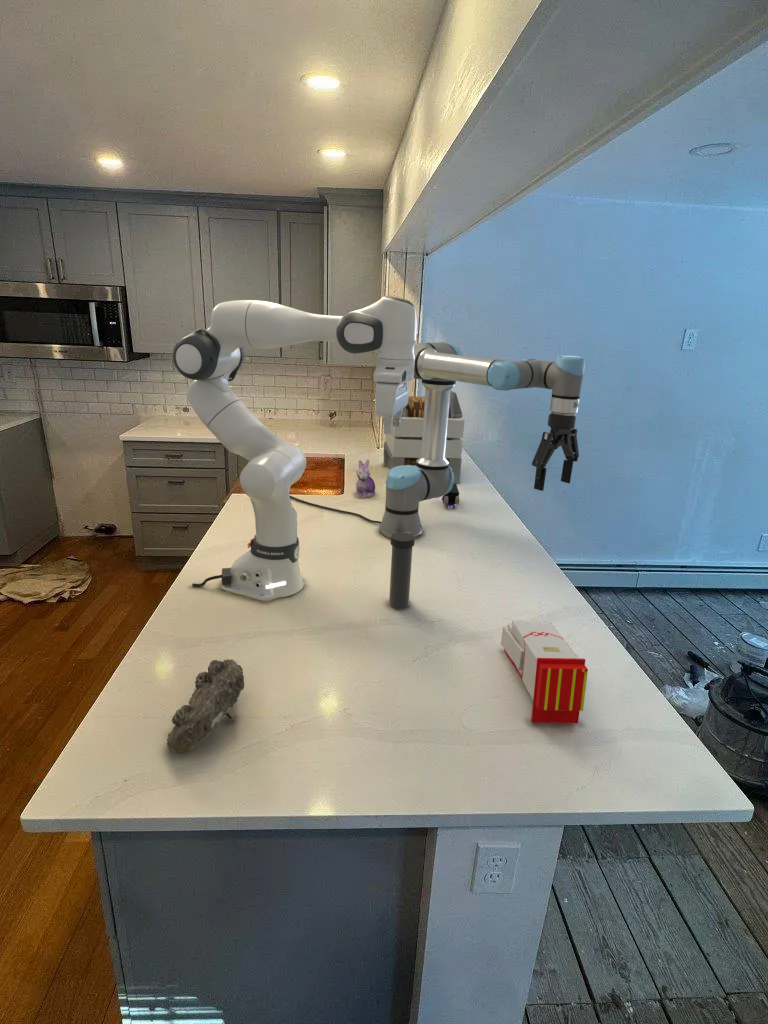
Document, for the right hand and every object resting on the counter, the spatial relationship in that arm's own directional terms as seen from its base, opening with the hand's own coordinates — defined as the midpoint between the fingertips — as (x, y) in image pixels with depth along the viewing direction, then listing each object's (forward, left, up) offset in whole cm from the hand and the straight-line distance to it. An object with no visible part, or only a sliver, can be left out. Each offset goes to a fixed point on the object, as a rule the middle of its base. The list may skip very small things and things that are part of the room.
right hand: (552, 485), depth 166 cm
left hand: (-14, -52, +19) cm, 57 cm away
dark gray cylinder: (-11, -49, -28) cm, 57 cm away
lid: (-11, -49, -9) cm, 51 cm away
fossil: (0, -107, -28) cm, 110 cm away
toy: (+32, -47, -28) cm, 64 cm away
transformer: (-101, +46, -28) cm, 115 cm away
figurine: (-89, +3, -28) cm, 94 cm away
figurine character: (-60, +24, -28) cm, 70 cm away
